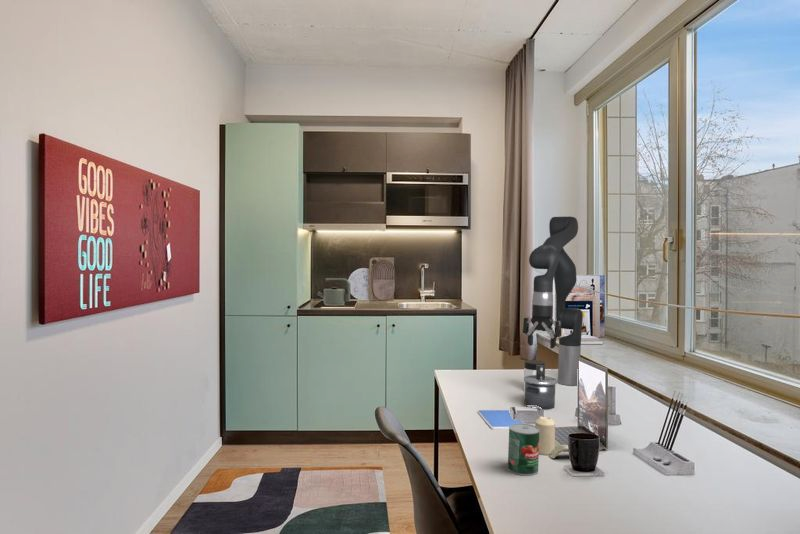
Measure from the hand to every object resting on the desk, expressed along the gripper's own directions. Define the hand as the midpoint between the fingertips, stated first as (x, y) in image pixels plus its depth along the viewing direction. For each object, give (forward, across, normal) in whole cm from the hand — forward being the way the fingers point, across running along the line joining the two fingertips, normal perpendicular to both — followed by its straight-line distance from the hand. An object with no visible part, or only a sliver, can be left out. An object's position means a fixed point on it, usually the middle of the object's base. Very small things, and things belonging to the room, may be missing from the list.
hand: (541, 346), depth 202 cm
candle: (+22, -21, +44) cm, 54 cm away
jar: (+23, +11, -19) cm, 31 cm away
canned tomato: (+22, -22, +60) cm, 68 cm away
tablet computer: (+23, +2, +26) cm, 35 cm away
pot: (+22, 0, 0) cm, 22 cm away
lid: (+13, 0, 0) cm, 13 cm away
